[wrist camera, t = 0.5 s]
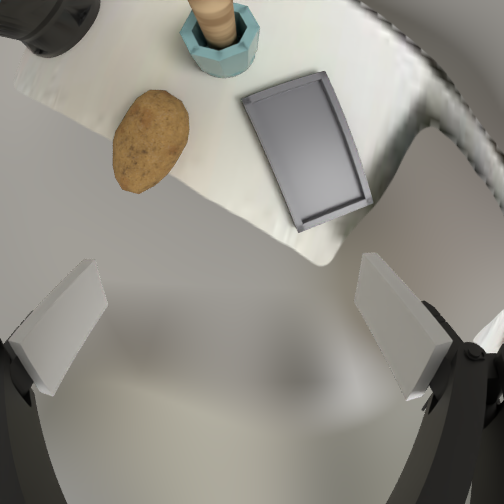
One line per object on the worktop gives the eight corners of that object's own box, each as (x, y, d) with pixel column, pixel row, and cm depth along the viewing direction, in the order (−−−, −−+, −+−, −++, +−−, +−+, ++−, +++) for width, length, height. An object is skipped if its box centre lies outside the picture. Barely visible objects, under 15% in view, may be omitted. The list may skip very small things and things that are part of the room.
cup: (188, 42, 30) (171, 18, 21) (241, 21, 29) (239, -8, 20) (209, 87, 33) (198, 71, 24) (264, 65, 32) (269, 43, 23)
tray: (241, 101, 34) (241, 99, 32) (320, 74, 32) (324, 70, 30) (295, 227, 41) (298, 232, 39) (367, 199, 39) (373, 202, 37)
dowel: (207, 45, 30) (181, -11, 14) (232, 36, 29) (221, -26, 13) (217, 65, 31) (196, 15, 15) (242, 55, 30) (238, -1, 15)
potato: (115, 174, 37) (89, 184, 30) (148, 87, 32) (126, 77, 25) (170, 197, 39) (153, 211, 32) (208, 108, 34) (198, 100, 27)
